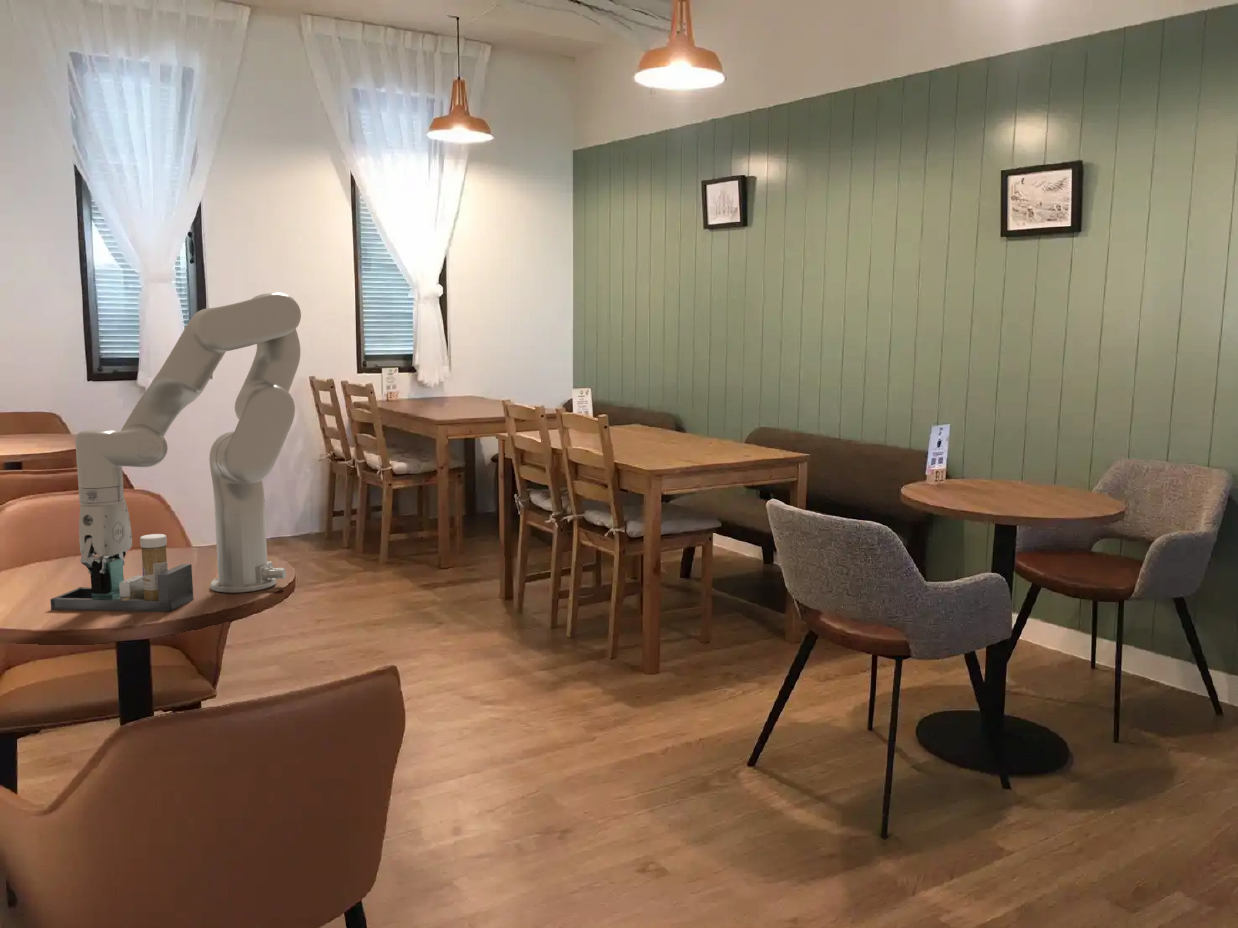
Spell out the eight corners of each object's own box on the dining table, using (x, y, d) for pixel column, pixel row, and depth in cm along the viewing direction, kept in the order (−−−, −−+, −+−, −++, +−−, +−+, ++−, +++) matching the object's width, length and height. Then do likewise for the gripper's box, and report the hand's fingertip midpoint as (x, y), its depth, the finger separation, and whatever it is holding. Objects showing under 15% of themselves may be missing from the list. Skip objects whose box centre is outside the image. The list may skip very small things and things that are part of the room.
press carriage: (147, 598, 194) (145, 557, 193) (130, 606, 188) (127, 564, 187) (108, 597, 195) (105, 556, 194) (89, 605, 189) (86, 563, 188)
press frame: (193, 599, 195) (191, 564, 194) (169, 611, 186) (166, 574, 185) (80, 597, 197) (78, 562, 196) (51, 609, 188) (48, 572, 187)
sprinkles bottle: (139, 605, 191) (135, 535, 189) (163, 600, 194) (159, 532, 193) (150, 609, 188) (146, 538, 186) (174, 604, 191) (170, 535, 190)
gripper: (94, 502, 181) (101, 602, 183) (145, 488, 197) (151, 580, 200) (54, 502, 181) (61, 601, 184) (108, 488, 198) (114, 579, 200)
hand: (108, 589), depth 192 cm, fingers closed on press carriage, 4 cm apart
